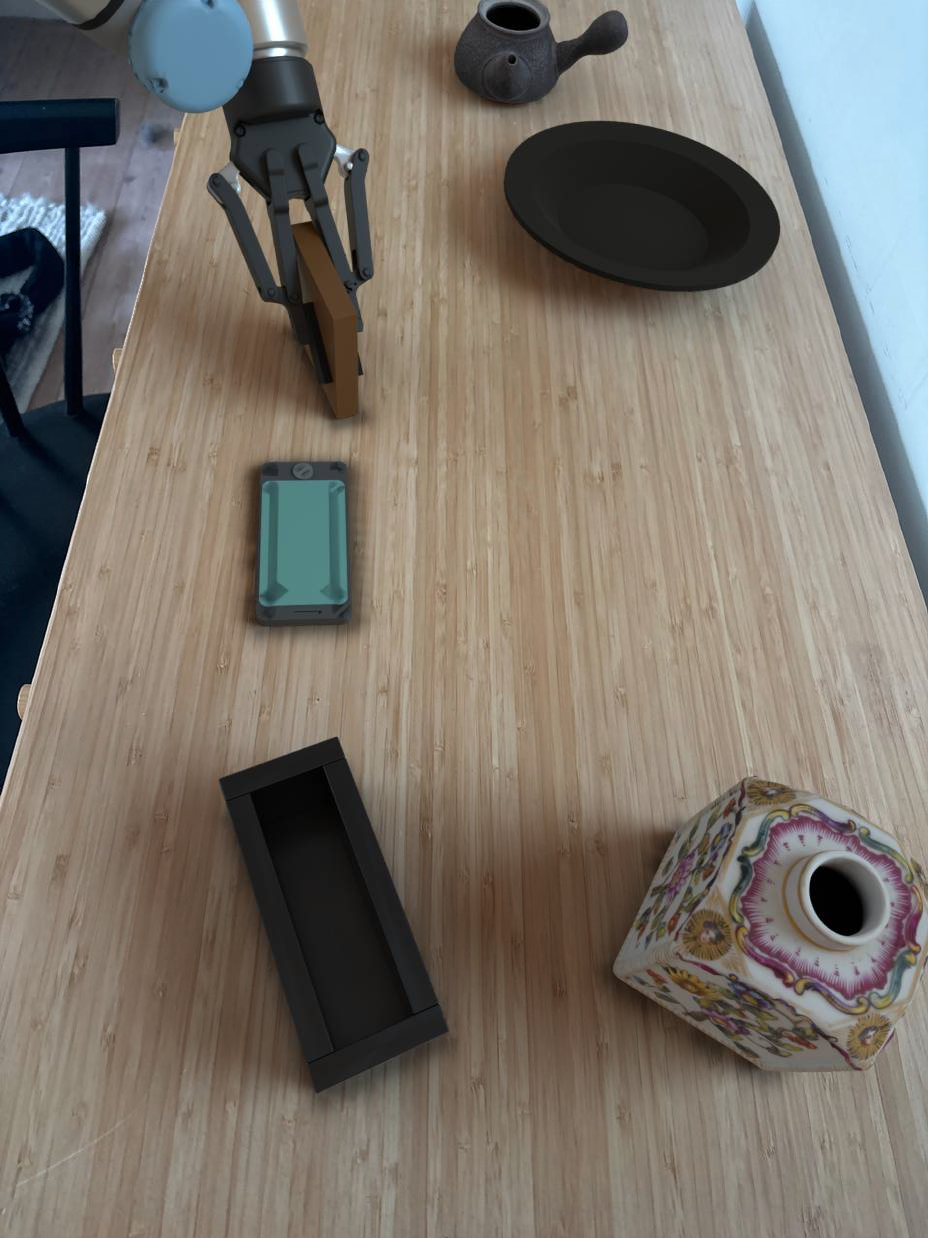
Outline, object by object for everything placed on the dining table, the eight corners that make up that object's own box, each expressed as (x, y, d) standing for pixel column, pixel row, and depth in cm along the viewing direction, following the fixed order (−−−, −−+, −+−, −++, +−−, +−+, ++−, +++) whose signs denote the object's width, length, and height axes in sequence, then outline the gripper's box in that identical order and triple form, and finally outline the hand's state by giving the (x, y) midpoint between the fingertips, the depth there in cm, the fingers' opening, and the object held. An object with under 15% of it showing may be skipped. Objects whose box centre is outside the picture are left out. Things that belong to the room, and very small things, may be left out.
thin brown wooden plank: (297, 331, 80) (287, 224, 70) (318, 327, 81) (311, 220, 71) (337, 419, 76) (333, 318, 66) (358, 413, 77) (357, 313, 67)
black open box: (237, 817, 60) (217, 778, 52) (341, 778, 62) (337, 735, 54) (323, 1091, 53) (316, 1094, 45) (437, 1037, 54) (449, 1031, 47)
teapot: (446, 120, 98) (454, 26, 89) (456, 42, 105) (464, -52, 96) (610, 143, 99) (634, 52, 90) (609, 64, 106) (631, -27, 97)
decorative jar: (676, 825, 62) (781, 741, 47) (825, 913, 60) (988, 857, 45) (603, 978, 57) (694, 942, 41) (764, 1080, 55) (924, 1083, 39)
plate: (470, 285, 86) (476, 237, 81) (526, 144, 97) (534, 94, 92) (744, 361, 85) (767, 317, 80) (768, 210, 96) (790, 163, 91)
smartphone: (347, 459, 73) (351, 616, 66) (347, 468, 74) (351, 624, 67) (257, 460, 72) (252, 619, 65) (259, 469, 73) (254, 626, 66)
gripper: (345, 69, 72) (409, 359, 80) (161, 95, 68) (249, 398, 76) (367, 38, 65) (435, 358, 73) (165, 65, 61) (261, 401, 69)
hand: (341, 378), depth 74 cm, fingers closed on thin brown wooden plank, 2 cm apart
